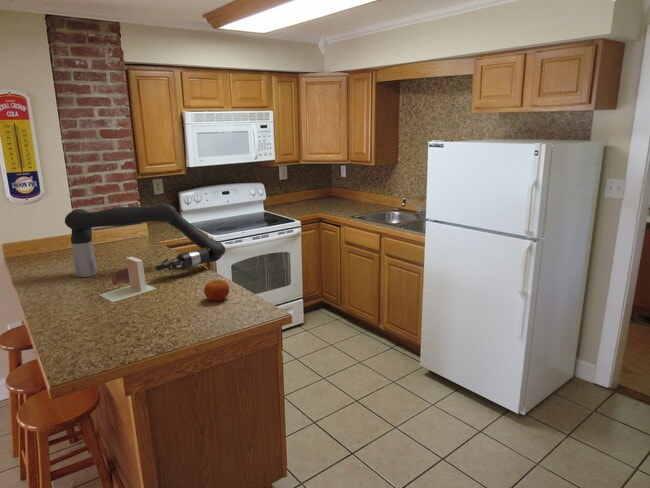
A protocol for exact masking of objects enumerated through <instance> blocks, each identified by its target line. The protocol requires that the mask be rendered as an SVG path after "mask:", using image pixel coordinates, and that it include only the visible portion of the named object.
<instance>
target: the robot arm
mask: <svg viewBox="0 0 650 488" xmlns="http://www.w3.org/2000/svg"><path fill="white" fill-rule="evenodd" d="M147 222H149V223H150V222H153V223H154V222H155V223H156V222H158V223H159V222H161V223H167V224H168V225H171V226H172V227H174V228H176V229H177V230H178V231H180V232H181V233H182V234H183V235H184V236H185V238H187V239H189V240H190V242H192V244H195V245H196V246H197V247H198V248H199V249H196V250H191V251H186V252H183V253H179V254H178V255H177V256H176V258H171V259H170V260H169V258H166V259H164V260H162V262H161V264H158V265H156V266H155V271H157V272H159V271H162V270H169V271H170V270H178V269H179V270H180V269H181V270H184V269H185V270H186V269H189V268H191V267H195V266H198V265H200V264H204V263H214V262H218V261H219V260H220V259H221V258H222V257H223V256H224V254H225V253H226V247H225V246H224V244H223V243H221V242H220V241H218V240H216V239H214V238H211V237H209V236H208V235H207V234H205V233H204V232H202V231H201V229H198V227H196V226H194V225H193V224H191V222H189V221H187V220H186V218H184V217H183V216H182V215H181V214H180V212H178V211H177V209H176V208H175V207H174V206H173V205H171V204H167V203H165V204H158V205H153V206H152V205H151V206H144V207H143V206H121V207H113V208H107V209H104V210H99V211H86V210H84V209H82V208H78V209H77V208H75V209H74V210H72V211H70V212H69V213H68V214H66V215H65V218H64V224H65V225H66V226H67V228H69V229H71V237H70V242H71V248H72V254H73V258H72V262H73V267H74V273H75V277H76V278H78V277H79V278H86V277H92V276H95V275H97V274H98V267H97V261H96V256H95V250H94V244H93V238H92V236H93V229H92V228H96V227H98V228H99V227H124V226H133V225H138V224H142V223H147ZM205 248H206V249H205Z"/></svg>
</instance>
